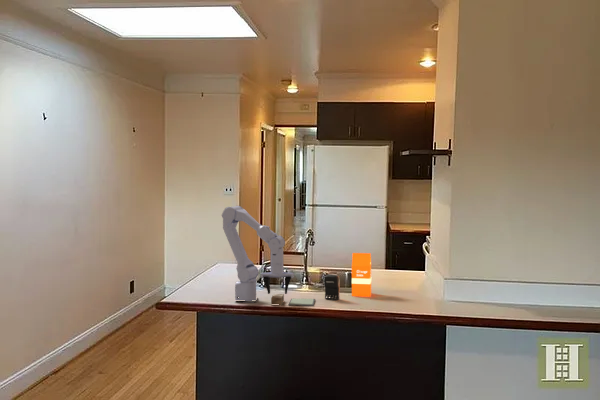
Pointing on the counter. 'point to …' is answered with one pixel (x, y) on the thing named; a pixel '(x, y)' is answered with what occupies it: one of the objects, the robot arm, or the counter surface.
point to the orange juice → (361, 274)
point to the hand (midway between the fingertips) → (277, 293)
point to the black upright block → (332, 287)
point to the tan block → (277, 299)
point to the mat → (302, 302)
